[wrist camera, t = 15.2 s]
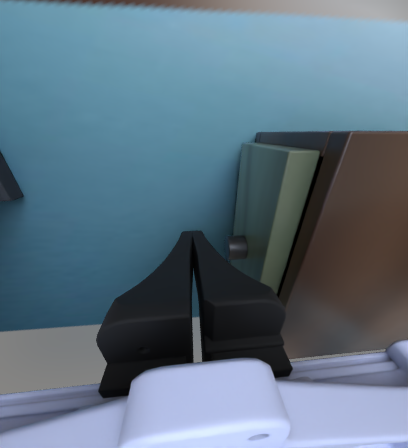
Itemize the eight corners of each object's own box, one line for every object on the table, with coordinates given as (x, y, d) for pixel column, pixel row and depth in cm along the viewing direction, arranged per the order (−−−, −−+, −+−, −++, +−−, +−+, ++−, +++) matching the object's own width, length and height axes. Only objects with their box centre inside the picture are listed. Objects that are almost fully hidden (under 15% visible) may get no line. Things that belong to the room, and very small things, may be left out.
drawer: (216, 281, 17) (229, 346, 12) (223, 142, 11) (255, 151, 6) (317, 274, 18) (371, 332, 12) (376, 142, 12) (522, 149, 7)
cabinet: (237, 277, 18) (266, 362, 11) (256, 132, 12) (350, 130, 5) (330, 271, 19) (408, 347, 12) (396, 132, 12) (642, 132, 6)
